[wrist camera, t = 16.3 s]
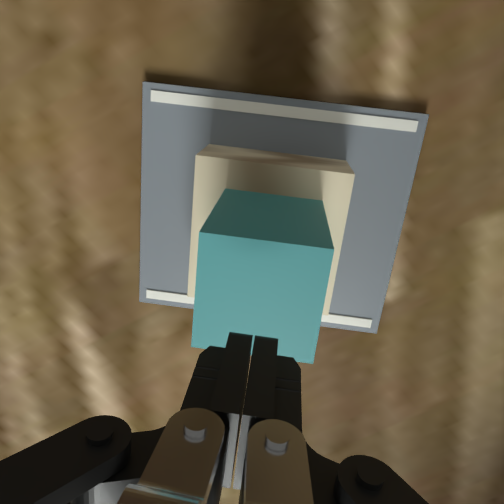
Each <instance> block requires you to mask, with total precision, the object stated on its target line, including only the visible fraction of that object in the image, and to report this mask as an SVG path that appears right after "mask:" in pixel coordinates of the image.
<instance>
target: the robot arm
mask: <svg viewBox="0 0 504 504" xmlns="http://www.w3.org/2000/svg"><path fill="white" fill-rule="evenodd" d="M252 339H253V335H249V334H242V333H235V332H229V335H228V339H227V343H226V347H225V348H223V347H216V346H209V347H208V348H207V349H205V350H204V351H203V352H202V353H201V354H200V355H199V358H198V361H197V364H196V367H195V369H194V372H193V376H192V378H191V381H190V384H189V386H188V389H187V392H186V395H185V398H184V401H183V404H182V407H181V409H180V411H179V412H177V413H175V414H174V415H173V416H172V417H171V418H170V419H169V421H168V422H167V424H166V426H164V427H162V428H159V429H156V430H152V431H144V432H134V433H131V429H130V427H129V425H128V424H127V423H126V422H125V421H124V420H122V419H120V418H118V417H115V416H108V415H102V416H95V417H91V418H88V419H86V420H84V421H82V422H79V423H77V424H75V425H73V426H71V427H69V428H67V429H65V430H63V431H61V432H59V433H57V434H55V435H53V436H51V437H49V438H47V439H45V440H42V441H40V442H38V443H36V444H34V445H32V446H30V447H28V448H26V449H24V450H22V451H20V452H18V453H16V454H14V455H12V456H10V457H8V458H5V459H3V460H1V461H0V504H219V501H220V496H221V490H222V487H226V488H230V487H231V481H232V475H233V468H234V462H235V456H236V450H237V443H238V437H239V431H240V437H239V445H238V453H237V461H236V469H235V477H234V485H233V489H240V497H239V504H428V503H427V502H426V501H425V500H424V499H423V498H422V497H421V496H420V495H419V494H418V493H417V492H416V491H415V490H413V489H412V488H411V487H410V486H409V485H408V484H407V483H406V482H405V481H404V480H403V479H402V478H401V477H400V476H399V475H397V474H396V473H395V472H394V471H393V470H392V469H391V468H390V467H389V466H387V465H386V464H385V463H383V462H382V461H380V460H378V459H375V458H373V457H369V456H365V455H354V456H350V457H347V458H346V459H344V460H343V461H342V462H341V463H340V464H339V463H336V462H334V461H332V460H329V459H327V458H325V457H323V456H321V455H319V454H318V453H316V452H315V451H314V450H313V449H312V448H311V447H310V446H309V445H308V444H307V442H306V441H305V438H304V436H303V434H302V412H301V369H300V367H299V365H298V364H297V362H296V361H295V359H294V358H293V357H287V356H280V355H277V351H278V338H271V337H264V336H257V335H255V338H254V344H253V351H252V357H251V363H250V355H251V347H252ZM249 363H250V369H249ZM248 371H249V376H248ZM247 378H248V382H247ZM246 386H247V388H246ZM245 393H246V395H245ZM244 400H245V401H244ZM243 406H244V407H243ZM242 412H243V414H242ZM241 418H242V421H241ZM240 425H241V429H240Z"/></svg>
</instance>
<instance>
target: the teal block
mask: <svg viewBox="0 0 504 504" xmlns="http://www.w3.org/2000/svg"><path fill="white" fill-rule="evenodd" d="M333 254H334V246H333V242H332V238H331V234H330V229H329V225H328V221H327V217H326V213H325V209H324V204H323V201H322V200H314V199H306V198H298V197H290V196H282V195H274V194H266V193H258V192H250V191H242V190H234V189H226V188H225V190H224V191H223V193H222V195H221V196H220V198H219V200H218V201H217V203H216V205H215V206H214V208H213V210H212V211H211V213H210V215H209V216H208V218H207V219H206V221H205V223H204V224H203V226H202V228H201V229H200V231H199V239H198V254H197V269H196V284H195V299H194V314H193V328H192V343H191V347H196V348H203V349H207V348H208V347H209V346H216V347H223V348H225V347H226V343H227V339H228V335H229V332H235V333H242V334H249V335H253V339H252V347H251V355H252V351H253V344H254V338H255V335H257V336H264V337H271V338H278V351H277V355H280V356H287V357H293V358H294V359H295V361H296V362H303V363H311V364H313V361H314V356H315V350H316V345H317V340H318V334H319V329H320V324H321V318H322V313H323V307H324V302H325V297H326V291H327V286H328V281H329V275H330V270H331V265H332V259H333Z"/></svg>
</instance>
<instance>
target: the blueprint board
mask: <svg viewBox="0 0 504 504" xmlns="http://www.w3.org/2000/svg"><path fill="white" fill-rule="evenodd" d="M428 117H429V114H424V113H415V112H406V111H398V110H389V109H380V108H372V107H363V106H354V105H346V104H337V103H328V102H320V101H311V100H302V99H294V98H285V97H276V96H268V95H259V94H250V93H242V92H233V91H224V90H216V89H207V88H198V87H190V86H181V85H172V84H164V83H155V82H146V81H145V82H143V99H142V165H141V230H140V296H139V302H146V303H154V304H161V305H168V306H176V307H183V308H191V309H194V299H195V298H193V297H187V292H188V275H189V258H190V241H191V224H192V207H193V190H194V173H195V156H196V154H197V153H199V152H200V151H201V150H202V149H204V148H205V147H206V146H207V145H209V144H214V145H222V146H230V147H239V148H247V149H255V150H263V151H272V152H280V153H288V154H297V155H305V156H313V157H322V158H330V159H338V160H346V161H347V162H348V164H349V166H350V167H351V169H352V170H353V172H354V173H355V178H354V183H353V188H352V193H351V199H350V204H349V209H348V214H347V220H346V225H345V230H344V235H343V241H342V246H341V251H340V256H339V262H338V267H337V272H336V277H335V283H334V288H333V293H332V298H331V303H330V309H329V314H328V315H322V318H321V324H320V326H324V327H331V328H339V329H346V330H354V331H361V332H369V333H376V334H377V330H378V325H379V321H380V317H381V313H382V309H383V304H384V300H385V296H386V292H387V288H388V284H389V279H390V275H391V271H392V267H393V263H394V259H395V254H396V250H397V246H398V242H399V238H400V234H401V229H402V225H403V221H404V217H405V213H406V209H407V204H408V200H409V196H410V192H411V188H412V184H413V179H414V175H415V171H416V167H417V163H418V159H419V154H420V150H421V146H422V142H423V138H424V134H425V129H426V125H427V121H428Z"/></svg>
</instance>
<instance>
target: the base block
mask: <svg viewBox="0 0 504 504" xmlns="http://www.w3.org/2000/svg"><path fill="white" fill-rule="evenodd" d="M354 178H355V173H354V172H353V170H352V169H351V167H350V166H349V164H348V162H347V161H346V160H338V159H330V158H322V157H313V156H305V155H297V154H288V153H280V152H272V151H263V150H255V149H247V148H239V147H230V146H222V145H214V144H209V145H207V146H206V147H205V148H204V149H202V150H201V151H200V152H199V153H197V154H196V156H195V173H194V190H193V207H192V224H191V241H190V258H189V275H188V292H187V297H193V298H195V284H196V269H197V254H198V239H199V231H200V229H201V228H202V226H203V224H204V223H205V221H206V219H207V218H208V216H209V215H210V213H211V211H212V210H213V208H214V206H215V205H216V203H217V201H218V200H219V198H220V196H221V195H222V193H223V191H224V190H225V188H226V189H234V190H242V191H250V192H258V193H266V194H274V195H282V196H290V197H298V198H306V199H314V200H322V201H323V204H324V209H325V213H326V217H327V221H328V225H329V229H330V234H331V238H332V242H333V246H334V254H333V259H332V265H331V270H330V275H329V281H328V286H327V291H326V297H325V302H324V307H323V313H322V315H328V314H329V309H330V303H331V298H332V293H333V288H334V283H335V277H336V272H337V267H338V262H339V256H340V251H341V246H342V241H343V235H344V230H345V225H346V220H347V214H348V209H349V204H350V199H351V193H352V188H353V183H354Z"/></svg>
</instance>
